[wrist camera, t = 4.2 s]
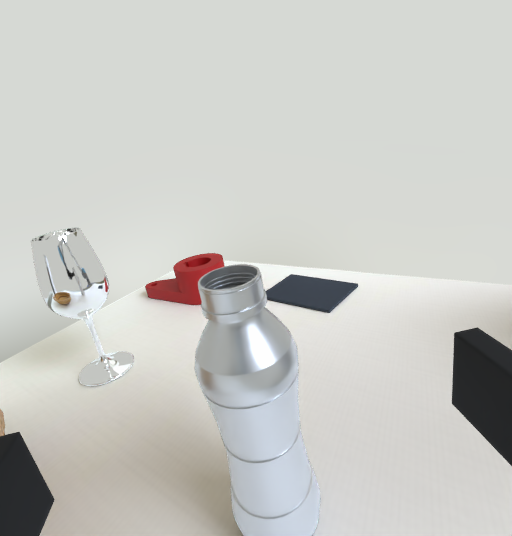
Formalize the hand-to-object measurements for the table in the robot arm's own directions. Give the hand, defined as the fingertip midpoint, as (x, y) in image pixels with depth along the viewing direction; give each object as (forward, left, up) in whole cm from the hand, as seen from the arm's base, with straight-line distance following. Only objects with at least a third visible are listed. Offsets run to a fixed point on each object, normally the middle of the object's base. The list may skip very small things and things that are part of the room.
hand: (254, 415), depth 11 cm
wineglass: (+40, -9, -19) cm, 46 cm away
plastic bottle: (+7, -6, -19) cm, 22 cm away
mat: (+26, -40, -19) cm, 52 cm away
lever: (+49, -31, -19) cm, 62 cm away
